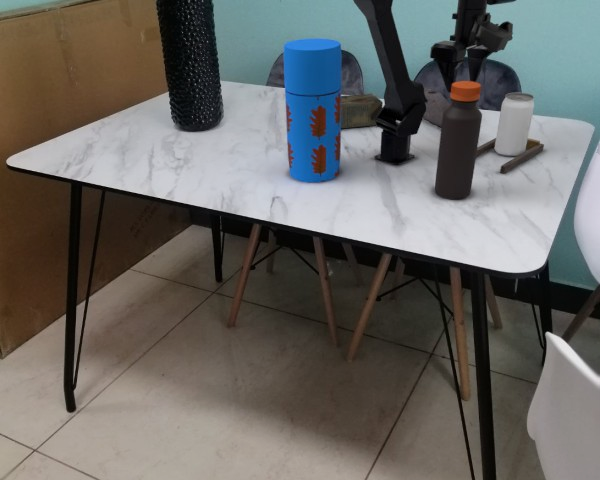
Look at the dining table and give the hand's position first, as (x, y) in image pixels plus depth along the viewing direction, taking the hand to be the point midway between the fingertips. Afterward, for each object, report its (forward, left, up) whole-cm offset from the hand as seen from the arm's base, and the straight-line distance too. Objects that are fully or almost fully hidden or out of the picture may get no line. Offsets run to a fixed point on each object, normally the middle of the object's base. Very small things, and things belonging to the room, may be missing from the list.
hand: (461, 87), depth 124 cm
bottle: (-23, -14, -13) cm, 30 cm away
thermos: (-33, +13, -13) cm, 38 cm away
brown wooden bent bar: (0, -12, -12) cm, 17 cm away
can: (+3, -12, -13) cm, 18 cm away
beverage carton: (-6, +29, -13) cm, 32 cm away
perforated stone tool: (+10, +12, -13) cm, 20 cm away
